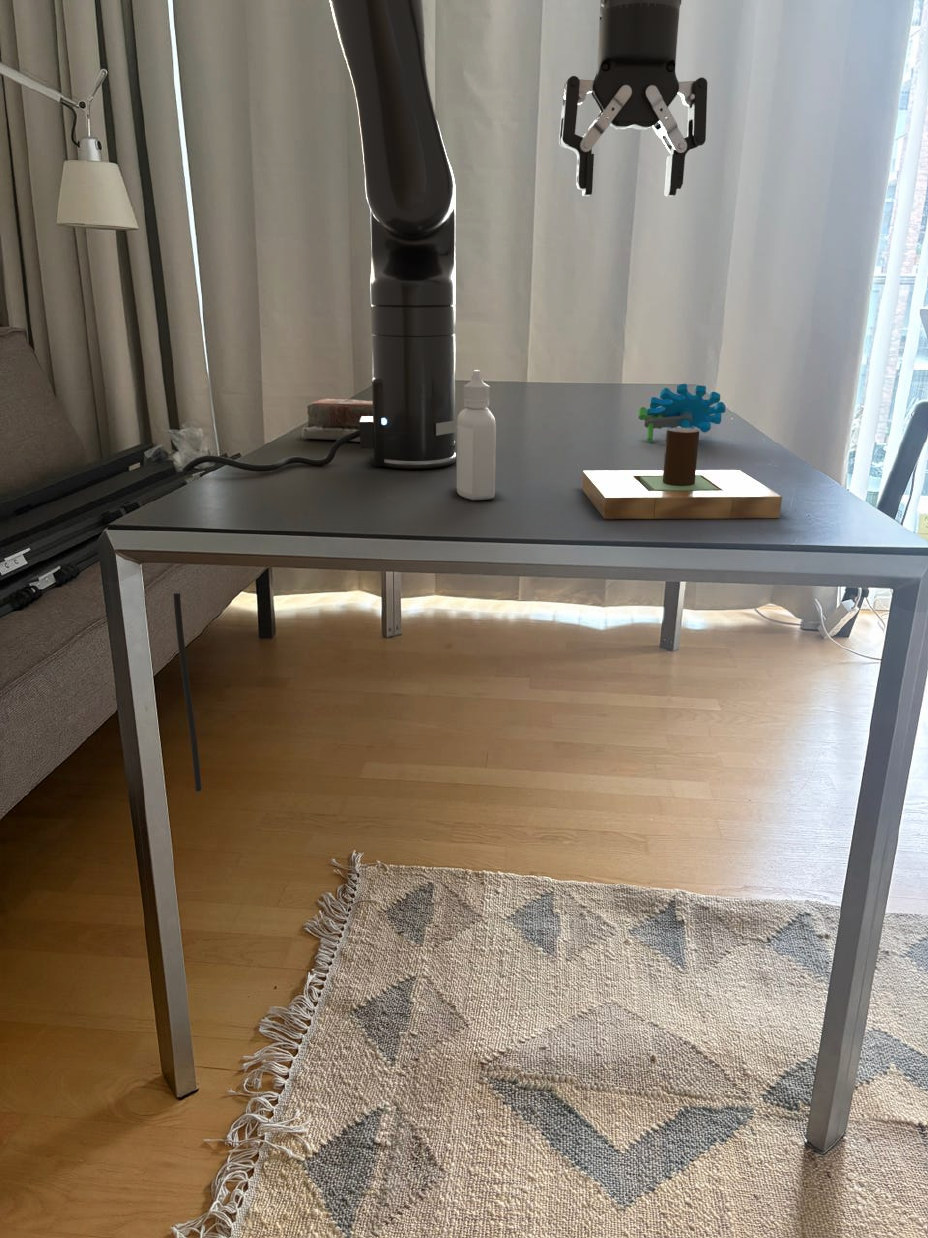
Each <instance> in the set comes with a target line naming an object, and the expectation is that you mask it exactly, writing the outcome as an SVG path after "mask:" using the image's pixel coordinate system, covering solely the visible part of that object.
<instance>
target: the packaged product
mask: <svg viewBox="0 0 928 1238" xmlns="http://www.w3.org/2000/svg"><path fill="white" fill-rule="evenodd" d="M306 412H307V426H306V427H304V426H303V427H302V430H301V437H302V439H307V440H317V441H318V440H319V441H334V442H336V441H337V440H339V439H340V438H342V437H344V436H346V435H348V434H350V433H353V432H355V431H357V430H360V427H359V422H360V419H361V417H362V416H373V404H372V400H364V399H363V400H362V399H346V398H345V399H343V398H321V399H318V400H315V401H313V402H311V403H309V404H308V405H307V411H306ZM349 442H350V443H351V442H352V443H360V437H357V438H355V439H353V440H350V441H348V443H349Z"/></svg>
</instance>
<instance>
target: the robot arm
mask: <svg viewBox="0 0 928 1238" xmlns="http://www.w3.org/2000/svg"><path fill="white" fill-rule="evenodd" d="M599 1H600V2H599V3H600V4H599V5H600V6H599V22H598V23H599V24H598V25H599V27H598V45H597V46H598V47H597V67H596V74H595V76H594V79H593V80H592V79H591V80H590V79H579V77H578V76H576V75H572V76H570V77H569V78H568V79H567V80H566V81H565V82H564V85H563V91H562V102H561V104H562V105H561V114H560V123H559V135H558V144H559V146H560V147H561V148H564V149H568V150H570V151H573V152H574V153H575V155H576V175H575V177H576V178H575V186H576V188H577V190H581V196H582V197H591V196H592V195H593V186H594V185H593V184H594V165H595V164H594V161H595V153H593V152H592V151H593V147H594V146H595V145H596V143H597V142H598V140H599V139H600V138H601V136H602V135H603V134H604V133H605V132H606V131H607V129H608V127H609V126H610V127H612V128H614V130H617V131H619V130H620V131H623V130H626V129H634V130H637V131H647V130H648V129H649V128H652V129H653V130H654V132H655V134H656V135H657V136H658V138H659V139H661V141H662V143H663V144H664V145H665V148H666V149H667V151H668V152H669V155H668V156H666V166H665V167H666V168H665V179H664V192H663V193H664V197H675V196H676V195H677V191H679V190H681V189H682V187H683V185H684V176H685V163H686V162H685V161H686V155H687V154H688V152H689V151H692V150H694V149H697V148H699V147H702V146H703V145H705V142H706V141H707V137H706V136H707V112H708V110H707V109H708V107H707V106H708V81H707V79H706V78H705V77H698V78H697V79H696V80H687V81H679V80H678V77H677V74H676V64H677V63H676V62H677V50H678V37H679V24H680V22H679V21H680V10H681V6H682V0H599ZM328 3H329V6H330V10H331V15H332V18H333V22H334V26H335V29H336V33H337V37H338V40H339V43H340V47H341V50H342V53H343V57H344V59H345V63H346V66H347V69H348V71H349V72H348V73H349V76H350V80H351V82H352V86H353V90H354V96H355V101H356V108H357V114H358V122H359V129H360V137H361V149H362V157H363V158H362V159H363V168H364V170H363V171H364V187H365V198H366V200H367V204H368V207H369V210H370V211H369V212H370V237H371V238H370V245H371V250H370V251H371V261H370V262H371V264H370V265H371V266H370V267H371V268H370V281H369V284H370V285H369V291H370V305H371V306H370V314H371V315H370V321H371V353H372V356H371V357H372V380H371V397H372V398H371V401H372V404H373V416H362V417H361V419H360V422H359V427H360V430H357V431H355V432H353V433H350V434H348V435H346V436H344V437H342V438H340V439H339V440H337V441H334V443H333V444H332V445H331V446H330V449H329V452H328V454H327V455H326V456H325V457H324V458H320V459H314V458H310V457H305V456H298V455H297V456H290V457H289V456H288V457H285V458H283V459H280V460H278V461H276V462H274V463H269V464H253V463H247V462H242V461H238V460H234V459H232V458H228V457H224V456H221V455H215V454H214V455H210V454H209V455H201V456H199V457H197V458H195V459H192V461H190V462H188V463H186V465H185V466H184V467H183V468H182V470H181V471H182V472H190V471H192V470H193V469H194V468H196V467H197V466H199V465H201V464H207V463H216V464H221V465H225V466H229V467H232V468H236V469H240V470H243V471H249V472H257V473H259V472H262V473H264V472H273V471H276V470H278V469H280V468H281V469H282V468H283V467H285V466H287V465H291V464H305V465H308V466H312V467H313V466H315V467H323V466H326V465H328V464H330V463H331V462H332V461H333V460H334V459H335V456H336V454H337V451H338V449H339V448H340V447H342V446H343V445H344V444H346V443H349V441H350V440H353V439H355V438H357V437H360V442H359V448H360V449H373V466H374V467H387V468H392V469H404V470H405V469H407V470H408V469H409V470H422V469H423V470H424V469H435V468H442V467H446V466H450V465H452V464H454V463H456V462H457V452H456V180H455V176H454V172H453V169H452V166H451V163H450V161H449V158H448V156H447V155H448V154H447V152H446V148H445V145H444V141H443V138H442V134H441V130H440V126H439V122H438V119H437V114H436V111H435V110H436V109H435V107H434V103H433V99H432V94H431V93H432V92H431V89H430V83H429V78H428V71H427V69H428V68H427V59H426V37H425V36H426V35H425V34H426V33H425V31H426V30H425V17H424V16H425V15H424V4H423V0H328ZM588 94H591V97H592V98H593V100H594V102H595V103H596V105H597V106H598V108H599V110H600V112H599V114H598V115H597V116H596V117H595V119H594V121H593V122H592V123H591V124H590V126H589V128H588V129H587V130H586V132H585V133H584V135H583V136H581V135H579V134H576V129H577V128H576V127H577V117H578V108H579V107H578V106H579V105H581V104H583V103H584V101H585V100H586V97H587V95H588ZM678 95H679V96H680V98H681V102H682V104H683V106H685V107H687V129H686V131H687V133H686V137H684V136H683V134H682V132H681V131H680V129H679V127H678V124H677V121H676V119H675V118H674V115H673V114H672V113H671V110H670V109H669V107H670V106H671V104H672V103H673V101H674V100H675V99H676V97H677V96H678ZM173 607H174V617H175V628H176V630H175V631H176V638H177V646H178V654H179V662H180V670H181V677H182V686H183V693H184V700H185V708H186V716H187V723H188V731H189V740H190V747H191V757H192V766H193V776H194V778H193V779H194V787H195V788H194V789H195V792H201V791H202V789H203V788H202V779H201V767H200V766H201V765H200V757H199V756H200V755H199V748H198V747H199V746H198V739H197V732H196V731H197V730H196V723H195V722H196V721H195V714H194V706H193V700H192V691H191V685H190V684H191V683H190V676H189V669H188V661H187V653H186V644H185V637H184V626H183V615H182V614H183V613H182V602H181V592H179V593H173Z"/></svg>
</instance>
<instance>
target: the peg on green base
mask: <svg viewBox="0 0 928 1238" xmlns="http://www.w3.org/2000/svg"><path fill="white" fill-rule="evenodd" d="M699 439H700V429H698V428H694V429H693V428H681V427H677V428H669V429H667V428H666V433H665V447H664V460H663V476H649V477H640V484H642V485H643V486H644V487H645V488H646V489H647V490H648V491H719V489H717V488H716V487H715V486H713V485H712V484H710V483H709V482H708V481H706V480H705V479H703V478H702V477H701V476H695V474H696V470H697V462H698V453H699V452H698V451H699Z"/></svg>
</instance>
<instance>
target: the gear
mask: <svg viewBox="0 0 928 1238" xmlns="http://www.w3.org/2000/svg"><path fill="white" fill-rule="evenodd" d="M694 394H695V395H694ZM694 394H691V392H689V390H688V384H687V383H681V384H678V385H676V393H674V392H672V390H671V389H670V388H668V387H664V388H663V389H661V390H660V392H659V398H658V397H656V396H652V397H650V400H649V408H647V407H644V406H642V407H640V408H639V409H638V420H640V421H644V423H643V424H644V425H643V426H644V427H645V428H646V429H647V431H646V432H647V433H646V441H647V442H653V440H654V429H659V430H661V429H662V428H663V429H664V428H666V430H667V429H669V428H678V427H679V428H693V429H695V428H696V429H698V430H699V431H700V432H702V433H705V434H706V433H707V432H709V431H710V430H711V429H712V424H714V425H720V424H721V423H722V414H725V413H726V404H725V403H724V402H723V401H721V394H720V393H719V392H716V391H712V392H710V393H709V398H708V399H704V396H706V394H707V386H706V385H696V386H695V388H694ZM714 404H715V405H714ZM713 405H714V406H713Z"/></svg>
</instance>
